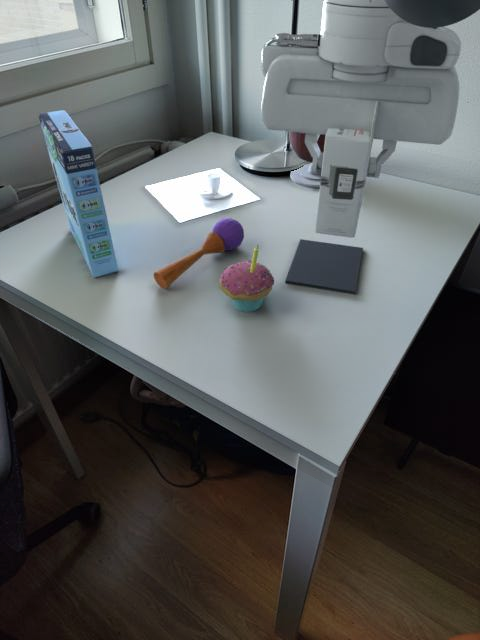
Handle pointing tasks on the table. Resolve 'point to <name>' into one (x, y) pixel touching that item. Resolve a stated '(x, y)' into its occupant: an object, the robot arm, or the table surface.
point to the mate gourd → (305, 173)
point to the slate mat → (325, 266)
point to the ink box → (343, 180)
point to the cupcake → (247, 283)
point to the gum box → (79, 190)
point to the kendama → (204, 250)
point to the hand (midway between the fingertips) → (345, 172)
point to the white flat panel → (201, 194)
